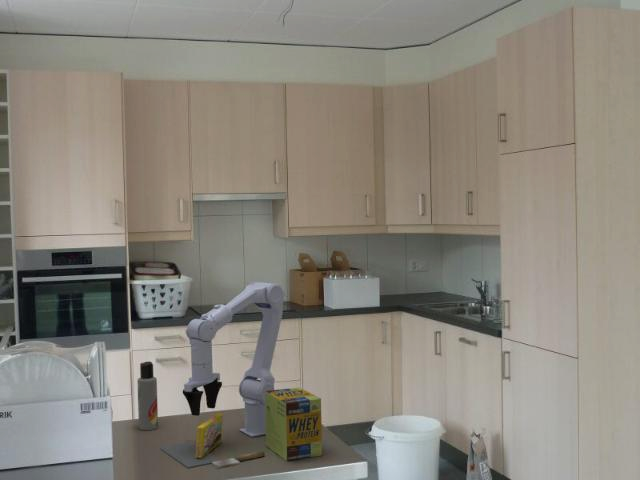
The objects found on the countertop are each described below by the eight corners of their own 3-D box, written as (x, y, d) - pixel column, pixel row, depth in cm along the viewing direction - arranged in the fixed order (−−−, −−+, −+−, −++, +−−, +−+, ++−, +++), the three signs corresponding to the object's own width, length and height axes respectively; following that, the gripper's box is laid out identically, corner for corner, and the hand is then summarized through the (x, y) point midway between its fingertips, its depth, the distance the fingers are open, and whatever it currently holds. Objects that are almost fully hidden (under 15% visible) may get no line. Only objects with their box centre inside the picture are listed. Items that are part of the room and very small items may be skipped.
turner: (259, 454, 213) (259, 448, 212) (267, 458, 209) (266, 452, 209) (212, 464, 205) (211, 458, 205) (218, 468, 202) (218, 463, 202)
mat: (189, 442, 224) (189, 441, 224) (220, 461, 207) (220, 460, 207) (159, 448, 219) (159, 447, 219) (187, 468, 202) (187, 467, 202)
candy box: (202, 459, 208) (203, 427, 208) (195, 458, 208) (195, 427, 208) (222, 442, 224) (223, 412, 224) (215, 441, 224) (215, 412, 224)
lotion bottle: (162, 426, 240) (160, 361, 239) (148, 431, 235) (146, 365, 234) (148, 424, 243) (146, 359, 242) (134, 429, 238) (132, 363, 237)
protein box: (286, 461, 206) (285, 403, 205) (265, 445, 220) (264, 390, 219) (323, 455, 210) (322, 398, 210) (299, 440, 224) (298, 386, 224)
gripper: (204, 356, 226) (206, 403, 227) (174, 367, 213) (175, 416, 214) (225, 358, 223) (227, 405, 224) (196, 369, 210) (197, 419, 211)
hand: (203, 411), depth 218 cm, fingers open, 7 cm apart
